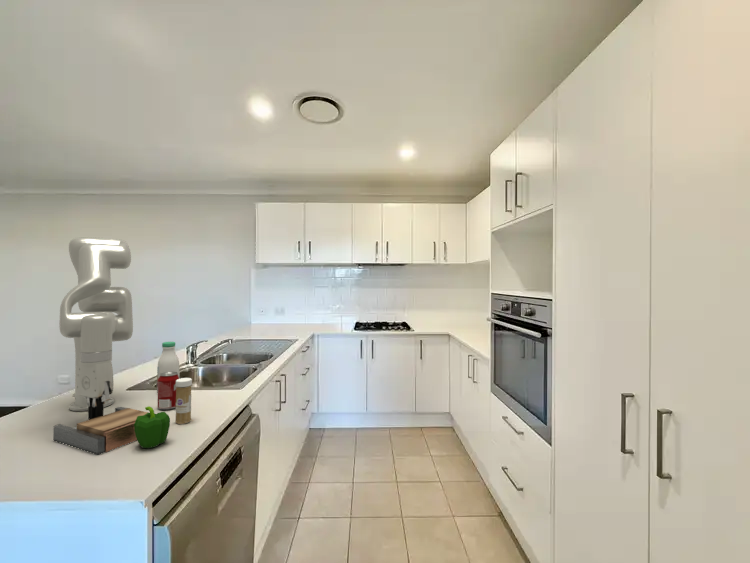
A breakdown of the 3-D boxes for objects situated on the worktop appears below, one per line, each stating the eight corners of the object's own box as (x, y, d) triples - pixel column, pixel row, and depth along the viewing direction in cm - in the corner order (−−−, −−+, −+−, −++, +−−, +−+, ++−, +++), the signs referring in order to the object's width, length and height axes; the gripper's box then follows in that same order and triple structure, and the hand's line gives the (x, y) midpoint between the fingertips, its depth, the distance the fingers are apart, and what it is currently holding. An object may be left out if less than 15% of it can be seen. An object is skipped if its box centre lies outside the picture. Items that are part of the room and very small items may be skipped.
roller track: (53, 440, 103) (53, 422, 103) (120, 419, 120) (120, 403, 120) (98, 455, 95) (98, 435, 95) (163, 429, 111) (163, 413, 111)
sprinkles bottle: (173, 424, 115) (173, 381, 115) (178, 419, 120) (178, 377, 120) (189, 424, 116) (189, 380, 116) (193, 418, 121) (193, 377, 121)
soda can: (169, 411, 127) (170, 376, 127) (152, 410, 128) (153, 375, 128) (183, 405, 134) (184, 371, 134) (167, 403, 135) (167, 370, 135)
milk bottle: (183, 391, 151) (184, 341, 151) (167, 396, 143) (167, 344, 143) (169, 389, 153) (169, 340, 153) (152, 394, 146) (152, 343, 146)
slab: (76, 432, 102) (76, 423, 102) (128, 415, 115) (128, 408, 115) (103, 440, 97) (103, 431, 97) (154, 422, 110) (154, 413, 110)
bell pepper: (173, 445, 101) (173, 408, 101) (137, 454, 96) (138, 415, 96) (165, 435, 108) (166, 400, 108) (131, 443, 102) (132, 406, 102)
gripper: (66, 356, 110) (65, 419, 110) (99, 361, 104) (98, 427, 104) (94, 352, 117) (93, 410, 117) (126, 356, 111) (125, 418, 111)
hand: (95, 418), depth 110 cm, fingers closed
